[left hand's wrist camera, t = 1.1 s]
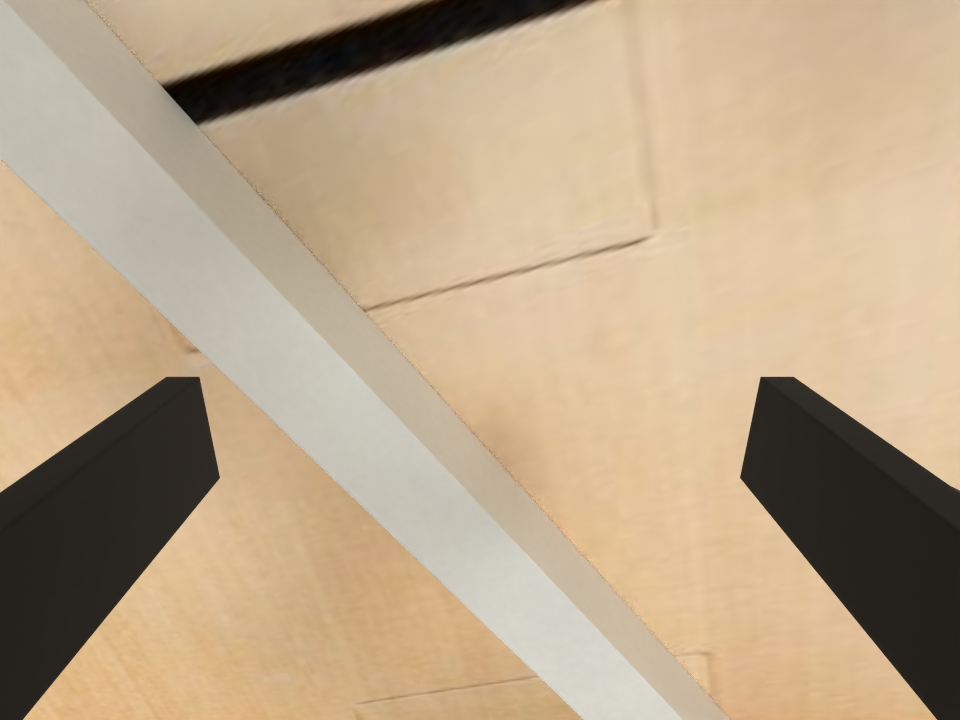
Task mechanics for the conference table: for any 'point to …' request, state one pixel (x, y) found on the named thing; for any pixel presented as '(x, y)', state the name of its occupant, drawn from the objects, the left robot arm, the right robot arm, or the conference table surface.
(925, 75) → the conference table surface
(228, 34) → the conference table surface
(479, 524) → the post
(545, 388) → the conference table surface
